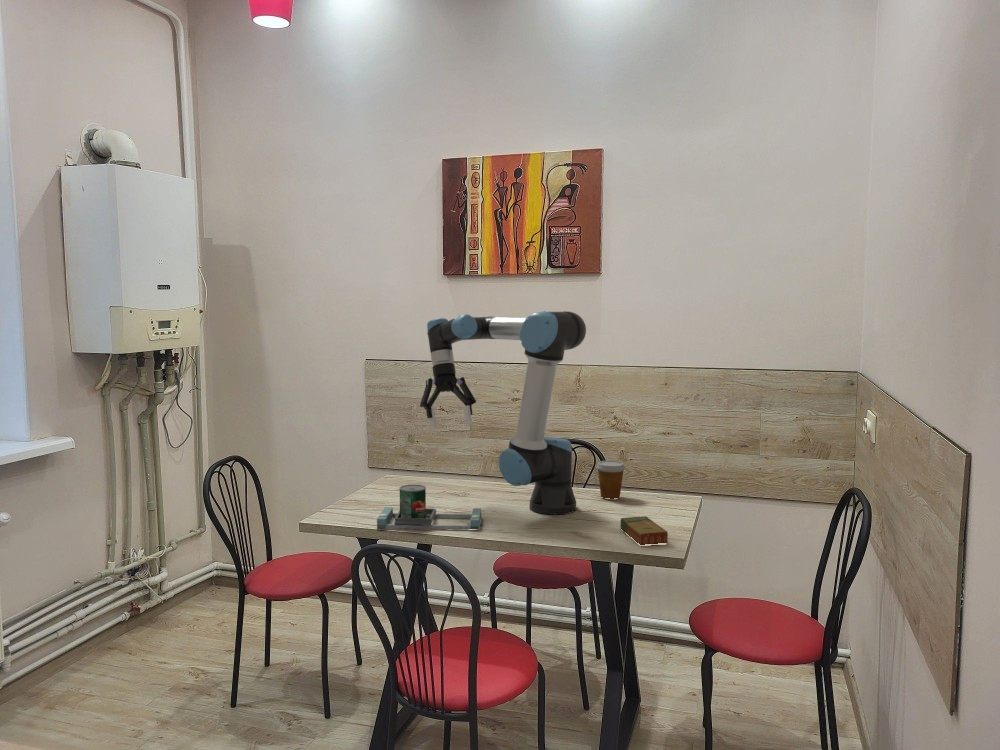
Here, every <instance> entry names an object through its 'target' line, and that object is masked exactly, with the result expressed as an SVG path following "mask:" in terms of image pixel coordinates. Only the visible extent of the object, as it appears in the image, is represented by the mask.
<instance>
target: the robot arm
mask: <svg viewBox="0 0 1000 750" xmlns="http://www.w3.org/2000/svg"><path fill="white" fill-rule="evenodd" d="M426 327H427V333H426V334H427V338H428V345H429V352H430V359H431V365H432V375H433V379H432V378H431V377H429V378H427V379H426V380H425V388H424V391H423V394H422V397H421V401H420V403H419V407H420V408H423V409H424V410H425V411H426V418H427V419H429V425H430V429H434V428H437V420H436V412H435V407H432V406H433V405H434V404H435V401H437V398H438V396H439V395H440V393H444V392H447V393H452V394H454V395H455V396H456V397H457V398H458V399H459V400H460V402H462V404H464V406H463V412H464V417H465V418H464V419H465V426H467V427H468V426H471V425H473V421H472V415H473V407H472V406H473V405H474V404H476V403H477V399H475V397H474V395H473V393H472V392H471V391H472V390H471V389H470V387H469V386H468V384H467V383H466V380H465V377H464V376H462V377H459V378H457V377H456V375H457V374H456V367H455V363H454V362H455V359H454V353H453V345H452V344H454V343H458V342H461V341H468V340H469V341H470V340H471V341H473V340H508V341H509V340H510V341H512V340H513V341H521V346H522V348H523V349H524V352H523V353H524V355H525V356H526V358H527V366H526V370H525V371H526V372H525V376H524V377H525V378H524V385H523V389H522V390H523V391H522V397H521V401H520V408H519V413H518V420H517V424H516V431H515V434H513V435H512V436H511V437H510V438H509V442H508V448H506V449H504V450H503V451H502V452H501V453H500V454H499V456H498V468H499V472H500V474H501V476H502V477H503V479H504V480H505V481H506V482H507V483H508V484H510V485H512V486H514V487H520V486H527V485H530V484H533V483H534V487H533V490H532V493H531V496H530V499H529V509H530V510H531V511H532V512H534V513H537V514H542V515H565V513H567V514H570V512H571V513H573V512H572V511H574V510H575V509H576V510H577V499H576V497H575V494H574V489H573V487H572V462H573V461H572V458H573V456H572V455H573V451H572V443H571V441H570V440H568V439H565V438H560V437H552V436H551V437H550V436H545V432H546V428H547V427H546V425H547V421H548V415H549V409H550V404H551V398H552V394H553V387H554V381H555V376H556V371H557V365H558V364H559V363H561V362H562V361H563V360H564V356H565V351H567V350H572V349H575V348H577V347H578V346H580V345H581V344H582V342H584V340H585V338H586V334H587V327H586V323H585V321H584V319H583V318H582V317H581V316H580V315H579V314H577V313H576V312H573V311H567V310H566V311H546V310H544V311H539V312H533V313H531V314H530V315H528V316H526V317H525V316H524V317H522V316H520V317H519V316H506V317H505V316H479V317H478V316H477V317H476V316H472V315H471V314H465V313H464V314H463V315H457V316H456V317H454V318H452V319H449V320H448V319H447V318H445V317H438V318H433V319H431V320H429V321H427V324H426ZM433 385H435V388H434V391H433V393H432V395H431V392H432V388H433ZM458 385H459V386H458ZM430 395H431V396H430ZM429 397H430V398H429ZM576 510H575V511H576ZM575 511H574V512H575Z"/></svg>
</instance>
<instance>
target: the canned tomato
mask: <svg viewBox="0 0 1000 750" xmlns="http://www.w3.org/2000/svg"><path fill="white" fill-rule="evenodd" d="M426 488H427V487H426V486H425V485H422V484H405V485H401V486H399V510H400V518H426V509H427V503H426V502H427V500H426V499H427V498H426V497H427V495H426V494H427V493H426V491H427V490H426Z"/></svg>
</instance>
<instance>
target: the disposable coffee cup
mask: <svg viewBox="0 0 1000 750" xmlns="http://www.w3.org/2000/svg"><path fill="white" fill-rule="evenodd" d="M596 469H597V473H598V482H599V490H600V491H599V492H600V493H599V494H600V498H601V497H603V498H610V499H614V498H619V497H620V496H621V489H622V484H623V475H624V470H625V469H626V467H625V464H624V462H621V461H619V460H617V461H616V460H601V461H598V463H597V465H596ZM619 499H620V498H619Z"/></svg>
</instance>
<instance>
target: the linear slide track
mask: <svg viewBox="0 0 1000 750" xmlns="http://www.w3.org/2000/svg"><path fill="white" fill-rule="evenodd" d="M471 511H472V512H471V514H472V515H471V519H470V520H469V522H470V523H469V525H470V526H471V528H470V529H473V528H472V526H473V527H475V528H474V529H477V527H479V526H480V527H481V522H480V521H482V508H480V507H479V508H478V507H477V508H476V507H474V508H473V509H472V510H471ZM393 513H394V507H393V506H392V507H391V506H385V507H384V508H383V509H382V511H381V512H380V514H379V516H377V518H376V529H377V530H379V529H378V528H377V527H378V526H381V525H383V526H382V527H384V528H385V527H386V526H385V525H386V524H390V522H391V521H390V520H392V519H393V517H392V514H393ZM480 527H479V528H480ZM384 530H387V529H386V528H385V529H384Z"/></svg>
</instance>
